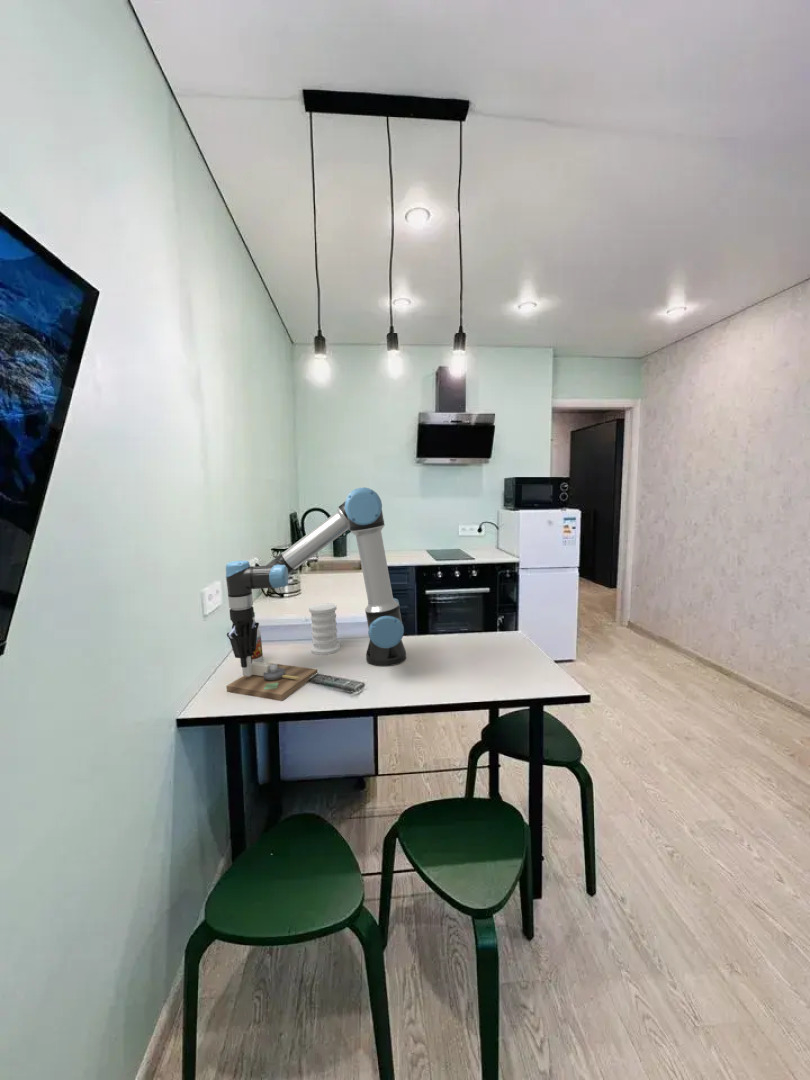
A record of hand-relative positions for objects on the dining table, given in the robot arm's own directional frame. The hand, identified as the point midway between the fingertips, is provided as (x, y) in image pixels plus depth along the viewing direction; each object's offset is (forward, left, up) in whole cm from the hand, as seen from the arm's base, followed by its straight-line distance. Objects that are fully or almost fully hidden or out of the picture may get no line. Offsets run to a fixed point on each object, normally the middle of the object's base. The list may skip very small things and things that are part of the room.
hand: (247, 675), depth 148 cm
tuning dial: (-8, -3, -1) cm, 9 cm away
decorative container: (-8, -35, -4) cm, 37 cm away
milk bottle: (+12, -15, -4) cm, 20 cm away
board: (-8, -3, -3) cm, 9 cm away
